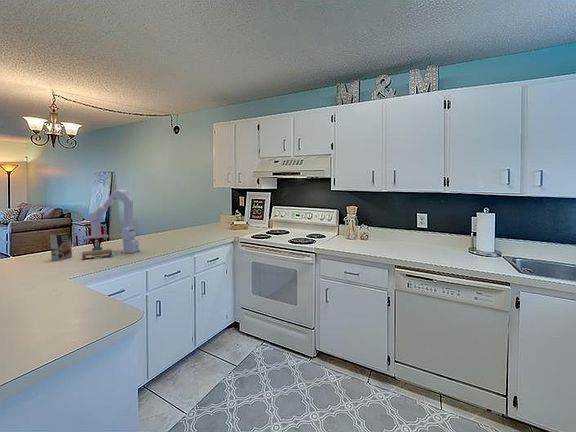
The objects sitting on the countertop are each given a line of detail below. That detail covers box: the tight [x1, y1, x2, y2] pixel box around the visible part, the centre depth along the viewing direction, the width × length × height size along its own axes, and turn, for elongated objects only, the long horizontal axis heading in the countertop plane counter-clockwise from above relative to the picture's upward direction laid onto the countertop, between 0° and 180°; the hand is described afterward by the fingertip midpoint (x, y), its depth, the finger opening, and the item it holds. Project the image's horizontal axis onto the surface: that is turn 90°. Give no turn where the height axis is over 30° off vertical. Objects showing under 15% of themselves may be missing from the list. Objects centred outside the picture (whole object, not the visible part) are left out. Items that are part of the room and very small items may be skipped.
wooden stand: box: [81, 248, 113, 261], centre depth 196 cm, size 7×16×4 cm, turn 123°
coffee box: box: [49, 232, 73, 261], centre depth 192 cm, size 9×6×16 cm
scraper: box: [91, 240, 104, 257], centre depth 208 cm, size 15×6×7 cm, turn 33°
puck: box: [92, 255, 103, 260], centre depth 196 cm, size 5×5×1 cm
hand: (97, 248), depth 213 cm, fingers closed on scraper, 2 cm apart
